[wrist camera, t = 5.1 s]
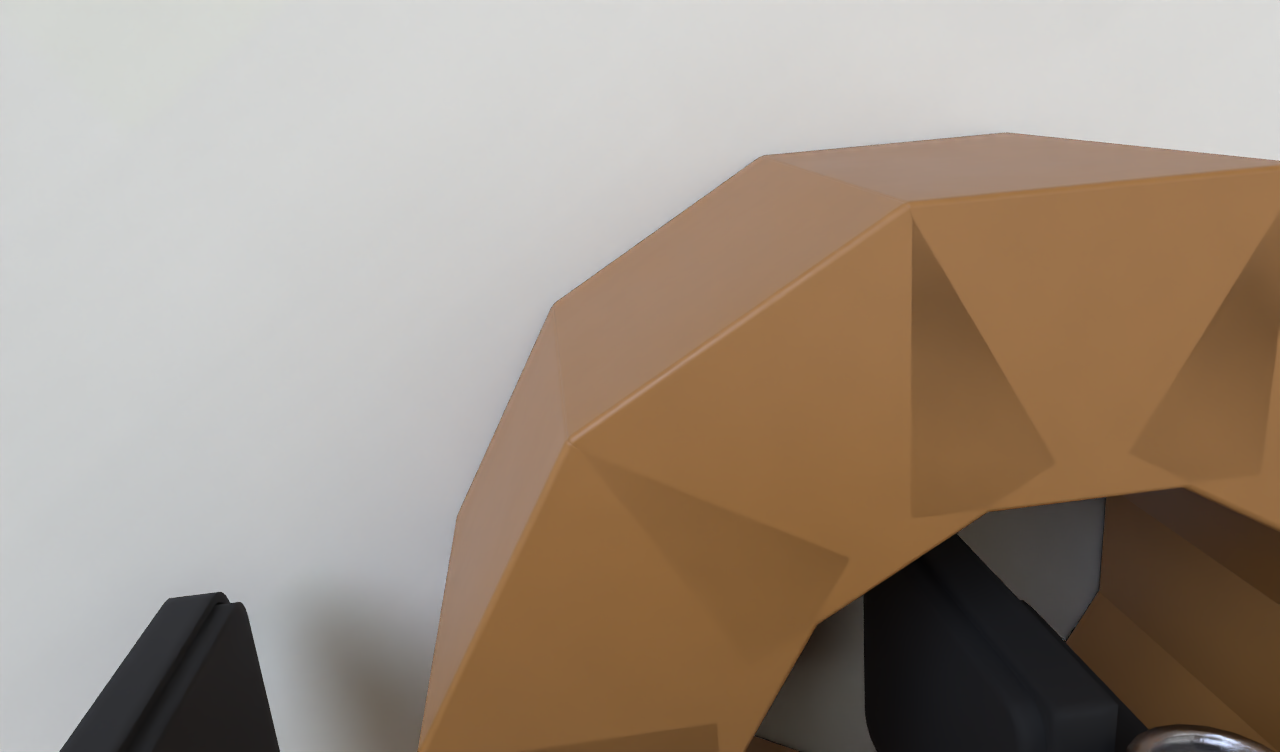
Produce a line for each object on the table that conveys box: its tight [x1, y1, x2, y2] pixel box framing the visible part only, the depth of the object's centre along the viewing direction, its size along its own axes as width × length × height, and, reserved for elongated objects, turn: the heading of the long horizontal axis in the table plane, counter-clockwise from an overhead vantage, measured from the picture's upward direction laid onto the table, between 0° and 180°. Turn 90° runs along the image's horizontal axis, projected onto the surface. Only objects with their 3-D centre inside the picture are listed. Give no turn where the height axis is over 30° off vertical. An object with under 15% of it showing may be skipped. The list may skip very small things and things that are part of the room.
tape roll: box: [417, 133, 1280, 752], centre depth 11 cm, size 11×11×4 cm
